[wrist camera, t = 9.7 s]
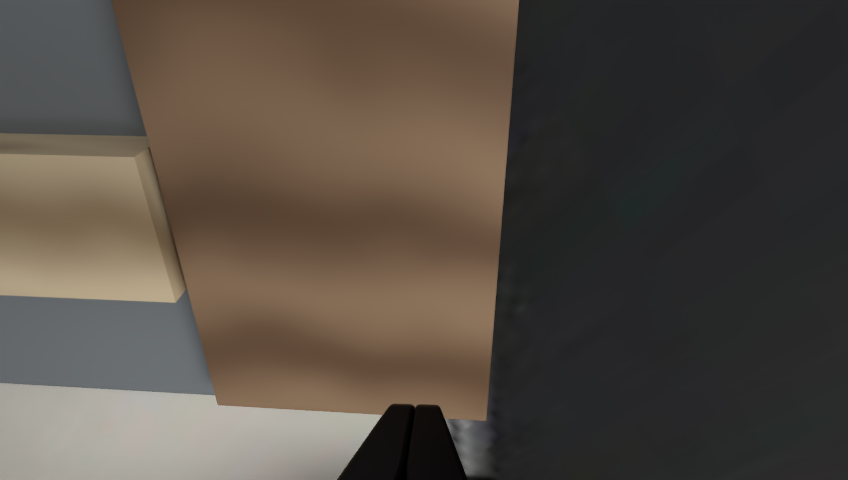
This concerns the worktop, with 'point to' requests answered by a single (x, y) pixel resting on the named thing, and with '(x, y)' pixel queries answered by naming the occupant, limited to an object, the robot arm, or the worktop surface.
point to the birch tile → (84, 220)
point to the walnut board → (333, 191)
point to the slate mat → (84, 115)
